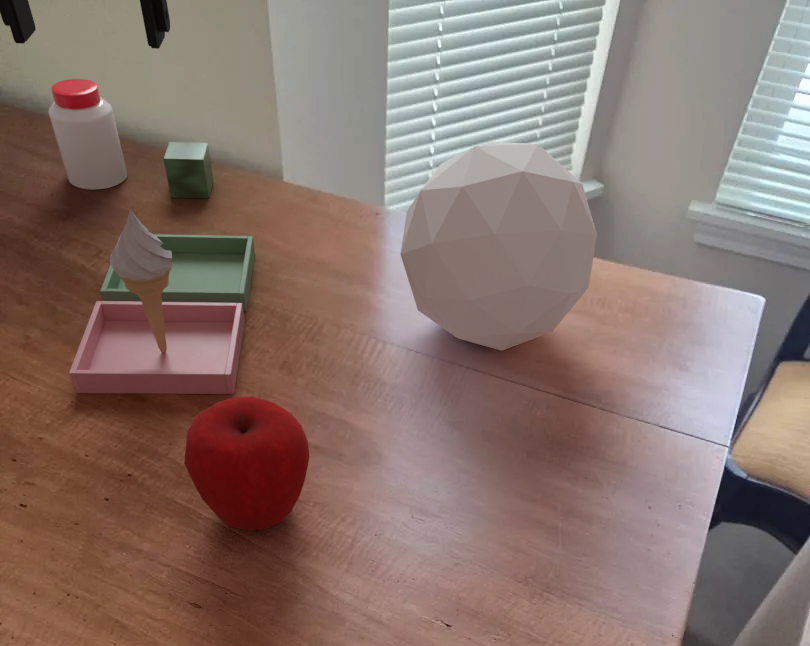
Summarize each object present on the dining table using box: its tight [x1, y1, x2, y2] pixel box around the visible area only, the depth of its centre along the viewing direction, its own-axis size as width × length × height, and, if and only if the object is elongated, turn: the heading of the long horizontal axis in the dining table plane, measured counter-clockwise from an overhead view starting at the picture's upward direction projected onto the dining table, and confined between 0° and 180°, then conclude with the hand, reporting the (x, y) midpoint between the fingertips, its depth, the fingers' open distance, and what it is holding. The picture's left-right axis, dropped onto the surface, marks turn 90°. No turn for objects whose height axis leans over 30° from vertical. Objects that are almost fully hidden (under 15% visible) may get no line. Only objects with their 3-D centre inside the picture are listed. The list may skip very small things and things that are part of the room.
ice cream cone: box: [109, 209, 172, 353], centre depth 71 cm, size 6×6×15 cm
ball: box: [399, 140, 598, 352], centre depth 76 cm, size 19×20×20 cm
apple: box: [183, 395, 310, 531], centre depth 60 cm, size 10×10×11 cm
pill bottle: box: [48, 78, 128, 191], centre depth 97 cm, size 8×8×11 cm
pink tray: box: [68, 300, 246, 395], centre depth 76 cm, size 15×12×2 cm
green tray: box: [100, 233, 256, 313], centre depth 85 cm, size 15×12×2 cm
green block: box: [163, 141, 214, 199], centre depth 99 cm, size 5×5×5 cm
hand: (92, 39), depth 56 cm, fingers open, 9 cm apart
